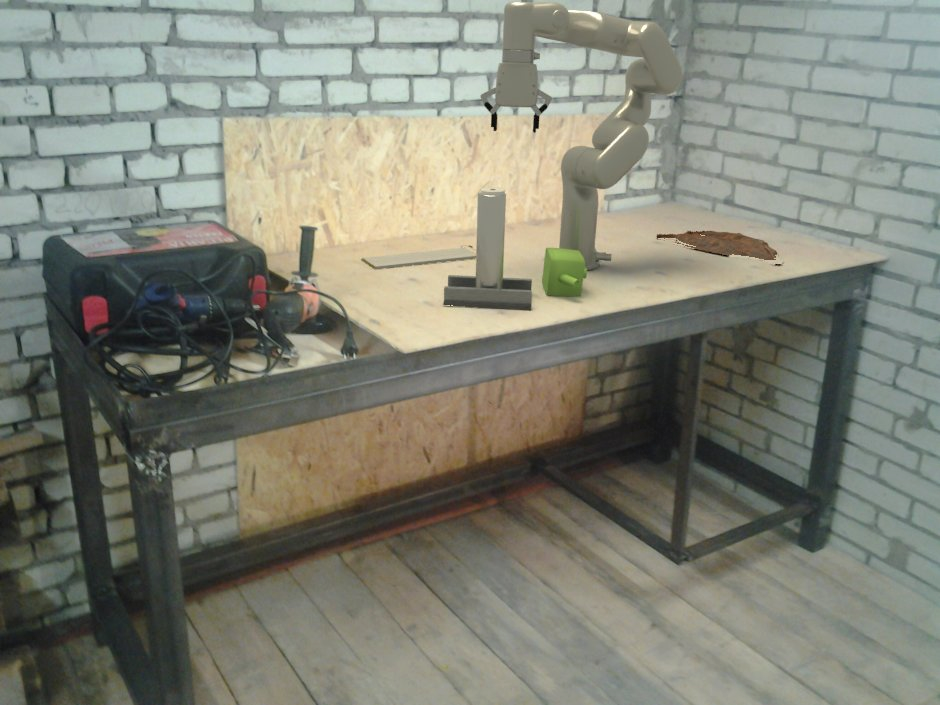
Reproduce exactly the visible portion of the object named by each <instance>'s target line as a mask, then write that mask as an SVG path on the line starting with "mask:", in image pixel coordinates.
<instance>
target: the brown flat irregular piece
mask: <svg viewBox="0 0 940 705" xmlns="http://www.w3.org/2000/svg"><path fill="white" fill-rule="evenodd" d="M700 234H701V235H705V236H701V235H700ZM658 238H664V239H665V238H676V239H678V240H679V241H681V242H683V243H686V244H689V245H693V246H696V247H693V246H688V245H685V246H687V247H691V248H694V249H698V251H704V252H711V253H712V254H719V255H721V254H722V255H721V256H723V255H732V254H734V255H741V256H749V257H755V258H759V259H764V260H776V259H774V258H776V256H775V255H777V254H778V252H777V250H776V249H775V248H772V247H770V246H769V244H768V242H767V241H765V240H764V239H760V238H754V237H750V236H748V235H745V234H743V233H740V232H737V233H736V232H728V231H715V230H702V231H699V230H698V231H697V230H696V231H691V230H686V232H684V233H678V234H676V233H668V234H665V233H664V234H662V233H657V234H656V240H659V239H658ZM674 242H675V243H677V244H681V243H679V242H677V241H674ZM682 245H684V244H682ZM694 249H693V250H694ZM776 266H780V265H779V264H777V265H776Z"/></svg>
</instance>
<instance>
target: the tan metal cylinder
mask: <svg viewBox="0 0 940 705" xmlns="http://www.w3.org/2000/svg"><path fill="white" fill-rule="evenodd" d="M479 190H480V191H479V192H478V193H477V210H476V211H477V215H476V216H477V217H476V218H477V219H476V249H475V253H476V259H475V276H476V286H475V288H493V289H503V278H504V264H505V263H504V260H505V256H504V255H505V236H506V235H505V232H506V230H505V229H506V228H505V227H506V209H507V208H506V205H507V193H506V189H505V188H502V187H482V188H481V189H479Z"/></svg>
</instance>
